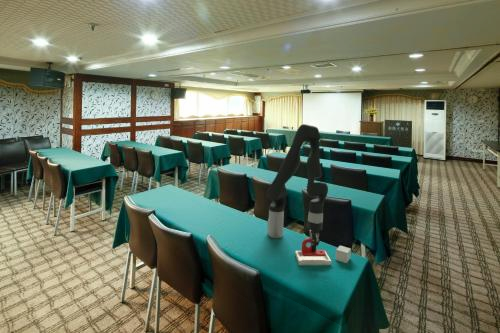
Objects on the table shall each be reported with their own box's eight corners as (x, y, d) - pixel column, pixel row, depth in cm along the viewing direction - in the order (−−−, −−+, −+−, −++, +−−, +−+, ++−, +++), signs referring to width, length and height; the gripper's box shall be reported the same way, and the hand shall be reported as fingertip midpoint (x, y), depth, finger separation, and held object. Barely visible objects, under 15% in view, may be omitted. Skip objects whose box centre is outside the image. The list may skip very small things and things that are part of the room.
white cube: (335, 259, 150) (336, 249, 149) (339, 255, 155) (339, 245, 154) (346, 263, 147) (347, 252, 145) (350, 258, 151) (351, 248, 150)
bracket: (303, 256, 145) (304, 242, 143) (301, 251, 149) (302, 238, 147) (326, 256, 145) (327, 242, 143) (323, 251, 149) (324, 238, 148)
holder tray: (295, 254, 154) (295, 250, 154) (324, 254, 155) (325, 250, 154) (299, 265, 144) (299, 260, 143) (330, 265, 144) (331, 260, 144)
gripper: (305, 215, 152) (303, 244, 155) (311, 224, 138) (309, 257, 142) (318, 215, 152) (316, 244, 155) (326, 224, 139) (324, 257, 142)
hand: (313, 250), depth 148 cm, fingers closed on bracket, 1 cm apart
